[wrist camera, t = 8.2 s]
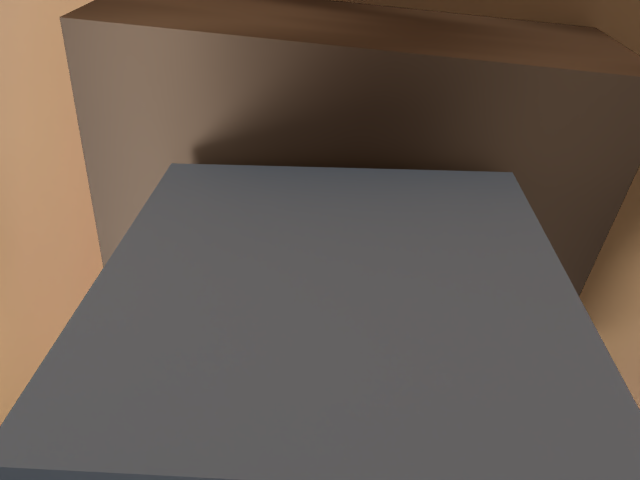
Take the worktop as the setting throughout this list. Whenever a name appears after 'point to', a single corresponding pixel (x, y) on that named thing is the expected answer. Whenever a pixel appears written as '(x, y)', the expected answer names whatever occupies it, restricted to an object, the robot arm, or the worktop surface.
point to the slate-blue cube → (328, 340)
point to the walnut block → (355, 102)
